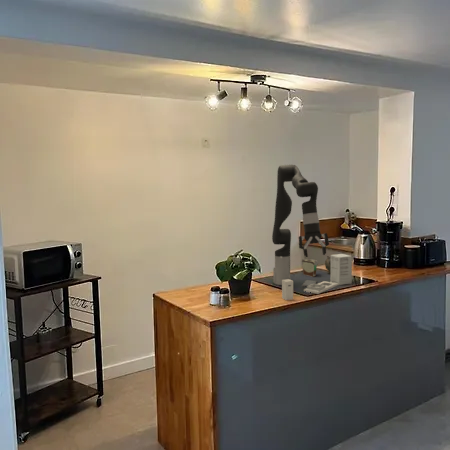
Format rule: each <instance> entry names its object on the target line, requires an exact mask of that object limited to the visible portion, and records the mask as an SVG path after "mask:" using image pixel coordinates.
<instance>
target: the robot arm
mask: <svg viewBox="0 0 450 450" xmlns="http://www.w3.org/2000/svg"><path fill="white" fill-rule="evenodd" d="M276 173H277V174H276V176H277V177H276V179H277V181H276V182H277V184H276V185H277V186H276V187H277V188H276V199H275V208H274V211H275V212H274V221H273V229H272V235H271V236H272V237H271V239H272V243H273V244H274V245H278V246H279V245H284V246H282V247H281V248H278V249H275V251H274V267H273V268H272V269H273V272H272V273H273V274H272V275H273V277H272V278H273V279H272V280H273V284H275V285H277V286H282V280H286V279H290V280H291V243H292V242H291V241H292V233H291V230H290V229H289V228H281V226H282V224H283V223H284V222H285V221H286V220H287V219H288V218H289V216H290V215H291V214H292V213H291V212H292V206H293V200H292V198H291V196H290V195H289V193H288V192H287V190H286V187H285V183H286V182H287V183H288V182H289V183H290V182H291V185H292V186H293V187H294V189H295V190H296V191H295V192H296V195H297V196H298V198H299V197H300V198H309V197H310V199H309V200H308V201H305V202H304V201H303V203H301V210H302V223H303V231H304V232H303V233H304V235H300V236H298V248H299V249H300V250H301V249H302V250H303V256H304V257H305V258H308V257H309V255H308V249H307V248H308V246H309V245H312V244H319V245H320V246H321V249H322V255H323V256H326V254H327V246H329V245H330V241H329V238H328V233H327V232H324V233H321V227H320V226H321V225H320V219H319V215H318V210H317V209H318V208H317V201H318V200H317V199H318V193H319V192H318V191H319V187H318V183H316V182H315V181H308V180H307V179H306V178H305V177H304V176H303V175H302V172H301V171H300V169H299V168H298V166H297V165H296V164H283V165H282V164H280V165H279V166H278V167H277V172H276ZM321 238H322V239H324V242H325V243H324V242H323V240H321ZM304 240H305V243H304V245H303V241H304Z"/></svg>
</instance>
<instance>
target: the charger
mask: <svg viewBox="0 0 450 450" xmlns="http://www.w3.org/2000/svg"><path fill="white" fill-rule="evenodd" d="M281 298H282V299H283V300H285V301H288V300H290V301H291V300H294V280H292V279H291V278H290V279H286V280H282V285H281Z"/></svg>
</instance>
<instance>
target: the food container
mask: <svg viewBox="0 0 450 450" xmlns="http://www.w3.org/2000/svg"><path fill="white" fill-rule="evenodd" d="M301 264H302V275H304V276H308V277H311V278H315V277H316V276H317V270H318V269H317V266H318V265H319V263H318V260H317V259H311V258H302V259H301Z"/></svg>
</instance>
